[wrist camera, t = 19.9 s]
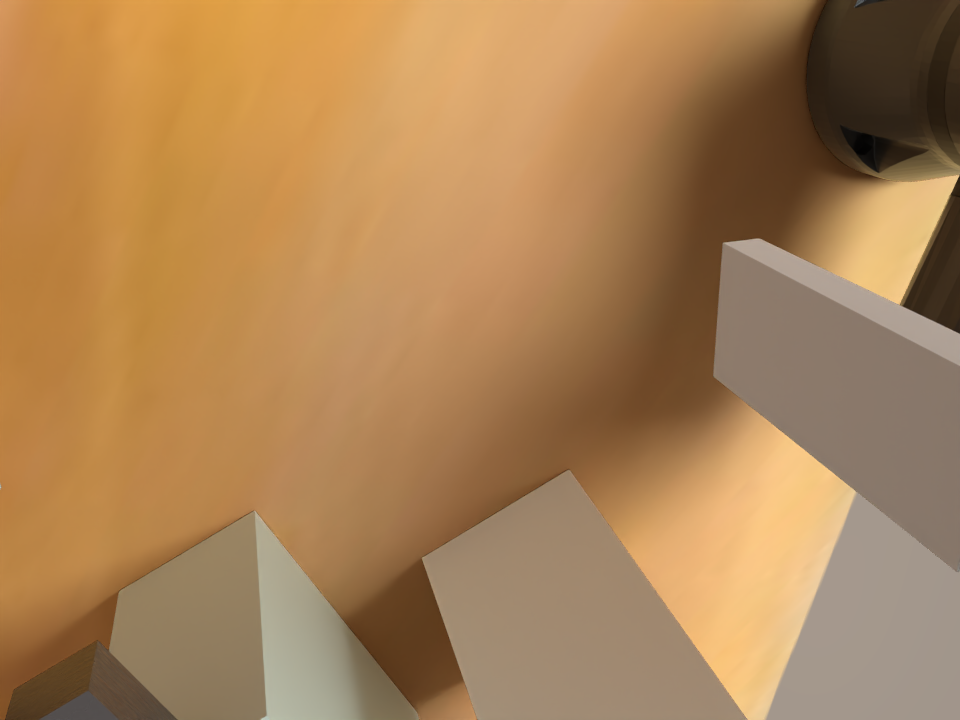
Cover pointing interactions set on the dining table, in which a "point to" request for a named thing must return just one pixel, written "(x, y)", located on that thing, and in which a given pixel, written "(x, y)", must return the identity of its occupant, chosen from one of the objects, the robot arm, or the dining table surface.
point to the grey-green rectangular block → (247, 638)
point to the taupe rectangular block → (565, 620)
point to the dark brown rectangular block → (86, 692)
